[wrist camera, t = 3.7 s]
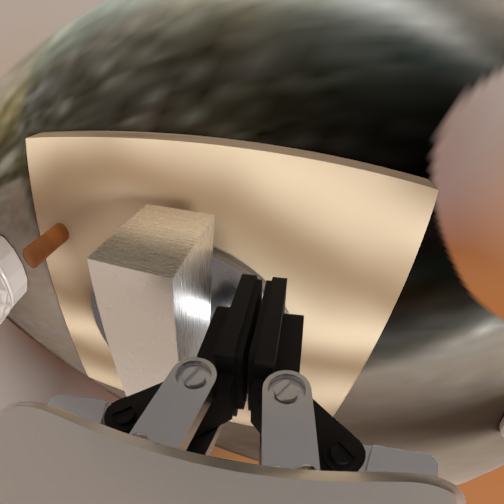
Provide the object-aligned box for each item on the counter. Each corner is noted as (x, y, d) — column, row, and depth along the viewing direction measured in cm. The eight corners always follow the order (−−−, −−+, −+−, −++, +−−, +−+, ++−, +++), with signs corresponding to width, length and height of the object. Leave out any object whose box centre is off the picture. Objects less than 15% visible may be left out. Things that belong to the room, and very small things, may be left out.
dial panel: (320, 421, 24) (317, 467, 20) (95, 365, 25) (73, 400, 22) (427, 179, 13) (467, 219, 9) (42, 131, 15) (-13, 154, 11)
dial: (275, 405, 20) (263, 473, 15) (118, 364, 21) (87, 419, 17) (327, 224, 13) (333, 309, 8) (80, 185, 14) (5, 236, 9)
